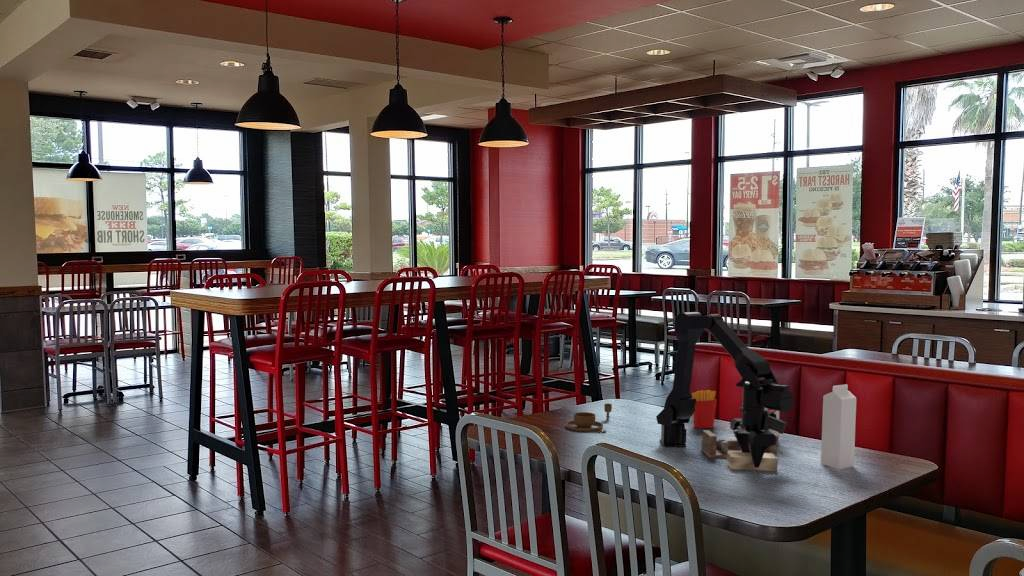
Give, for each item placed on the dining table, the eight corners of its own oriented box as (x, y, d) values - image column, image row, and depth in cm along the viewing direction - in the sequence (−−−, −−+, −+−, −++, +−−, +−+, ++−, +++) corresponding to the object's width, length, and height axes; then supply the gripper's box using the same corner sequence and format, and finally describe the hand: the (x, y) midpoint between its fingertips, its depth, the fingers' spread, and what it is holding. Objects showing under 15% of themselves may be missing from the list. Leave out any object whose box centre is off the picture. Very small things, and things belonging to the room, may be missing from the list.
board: (730, 470, 211) (731, 456, 210) (726, 464, 216) (727, 451, 215) (776, 471, 210) (777, 458, 209) (772, 466, 215) (772, 453, 214)
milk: (853, 467, 214) (857, 386, 213) (838, 470, 211) (842, 387, 210) (834, 461, 219) (838, 382, 218) (819, 464, 216) (823, 383, 215)
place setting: (555, 424, 261) (555, 406, 261) (608, 420, 269) (608, 402, 268) (580, 437, 245) (580, 418, 244) (636, 431, 253) (636, 413, 252)
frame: (709, 457, 221) (710, 436, 221) (701, 450, 229) (701, 429, 229) (776, 457, 222) (777, 436, 222) (765, 450, 230) (766, 429, 230)
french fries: (710, 424, 262) (711, 388, 261) (717, 427, 258) (718, 390, 257) (688, 426, 259) (689, 389, 258) (695, 429, 255) (696, 391, 254)
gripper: (797, 413, 203) (795, 473, 204) (769, 398, 221) (767, 453, 222) (755, 413, 202) (753, 473, 203) (730, 398, 221) (728, 453, 222)
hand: (751, 463), depth 213 cm, fingers open, 7 cm apart
